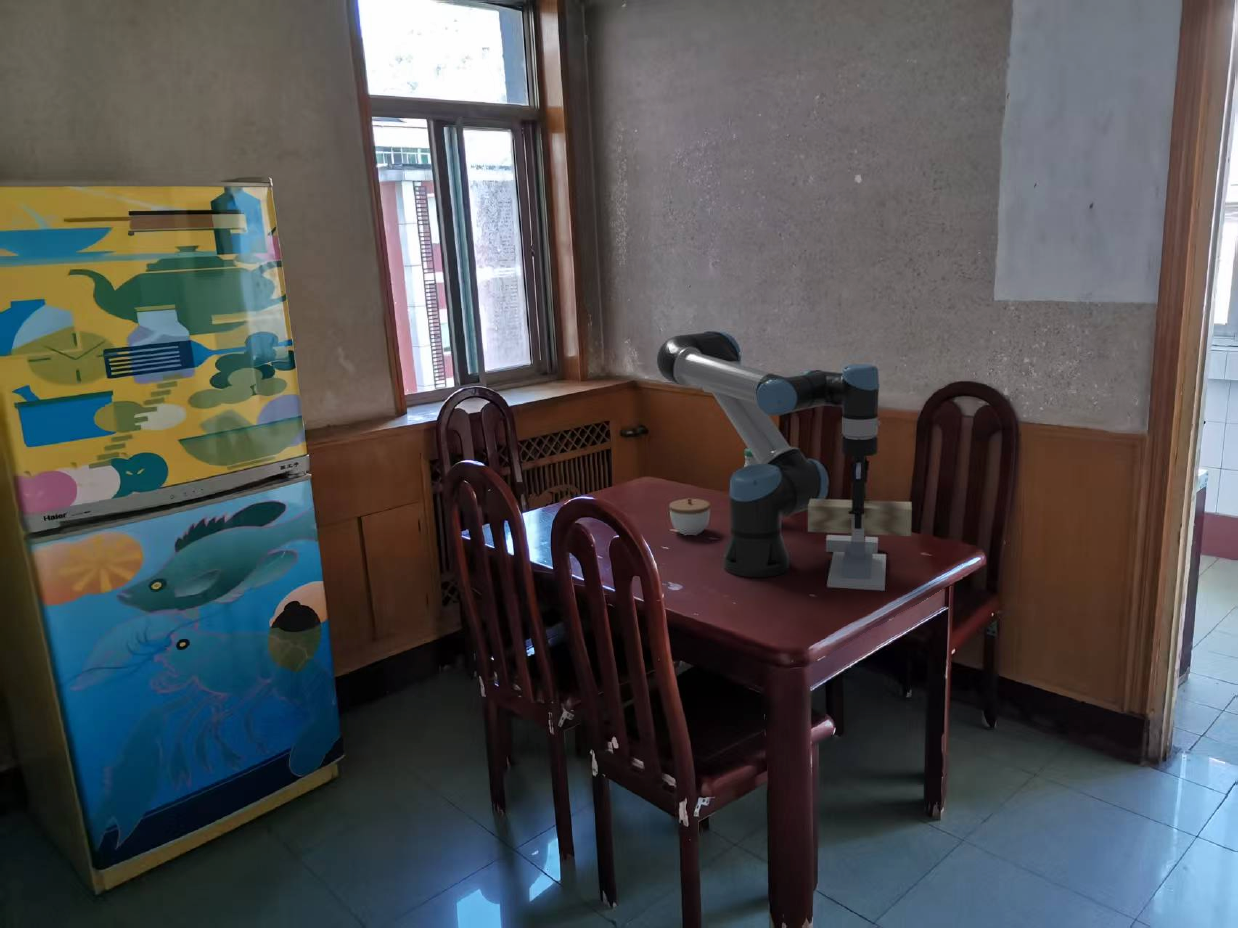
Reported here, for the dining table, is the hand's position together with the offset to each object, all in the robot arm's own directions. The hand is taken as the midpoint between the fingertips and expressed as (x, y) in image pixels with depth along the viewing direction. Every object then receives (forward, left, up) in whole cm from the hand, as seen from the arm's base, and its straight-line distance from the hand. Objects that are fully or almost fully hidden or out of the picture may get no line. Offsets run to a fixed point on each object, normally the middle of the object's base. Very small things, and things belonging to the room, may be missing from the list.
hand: (858, 536), depth 197 cm
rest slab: (-2, +15, -9) cm, 17 cm away
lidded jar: (-44, +23, -9) cm, 51 cm away
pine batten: (0, 0, +2) cm, 2 cm away
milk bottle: (-29, +36, -9) cm, 47 cm away
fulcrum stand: (0, 0, -9) cm, 9 cm away
